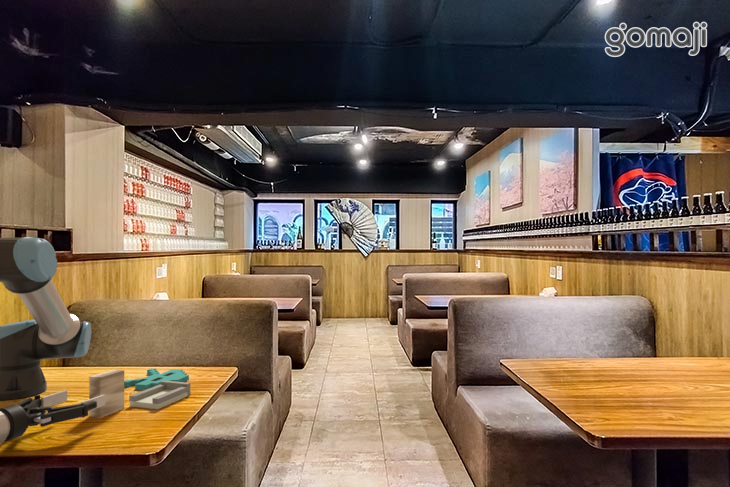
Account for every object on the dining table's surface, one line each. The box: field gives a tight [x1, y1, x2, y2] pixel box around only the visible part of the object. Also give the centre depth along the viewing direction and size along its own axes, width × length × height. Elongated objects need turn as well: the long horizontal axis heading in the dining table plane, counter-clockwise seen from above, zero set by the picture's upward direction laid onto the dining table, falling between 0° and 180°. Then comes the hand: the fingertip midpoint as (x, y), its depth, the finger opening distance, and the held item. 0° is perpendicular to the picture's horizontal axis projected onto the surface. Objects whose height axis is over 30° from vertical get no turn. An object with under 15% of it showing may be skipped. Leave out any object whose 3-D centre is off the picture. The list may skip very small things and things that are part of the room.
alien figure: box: [124, 367, 190, 391], centre depth 162 cm, size 20×2×20 cm
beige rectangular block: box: [88, 369, 125, 419], centre depth 130 cm, size 4×8×11 cm, turn 161°
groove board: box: [128, 381, 191, 410], centre depth 140 cm, size 10×14×4 cm
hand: (84, 397), depth 123 cm, fingers open, 13 cm apart
